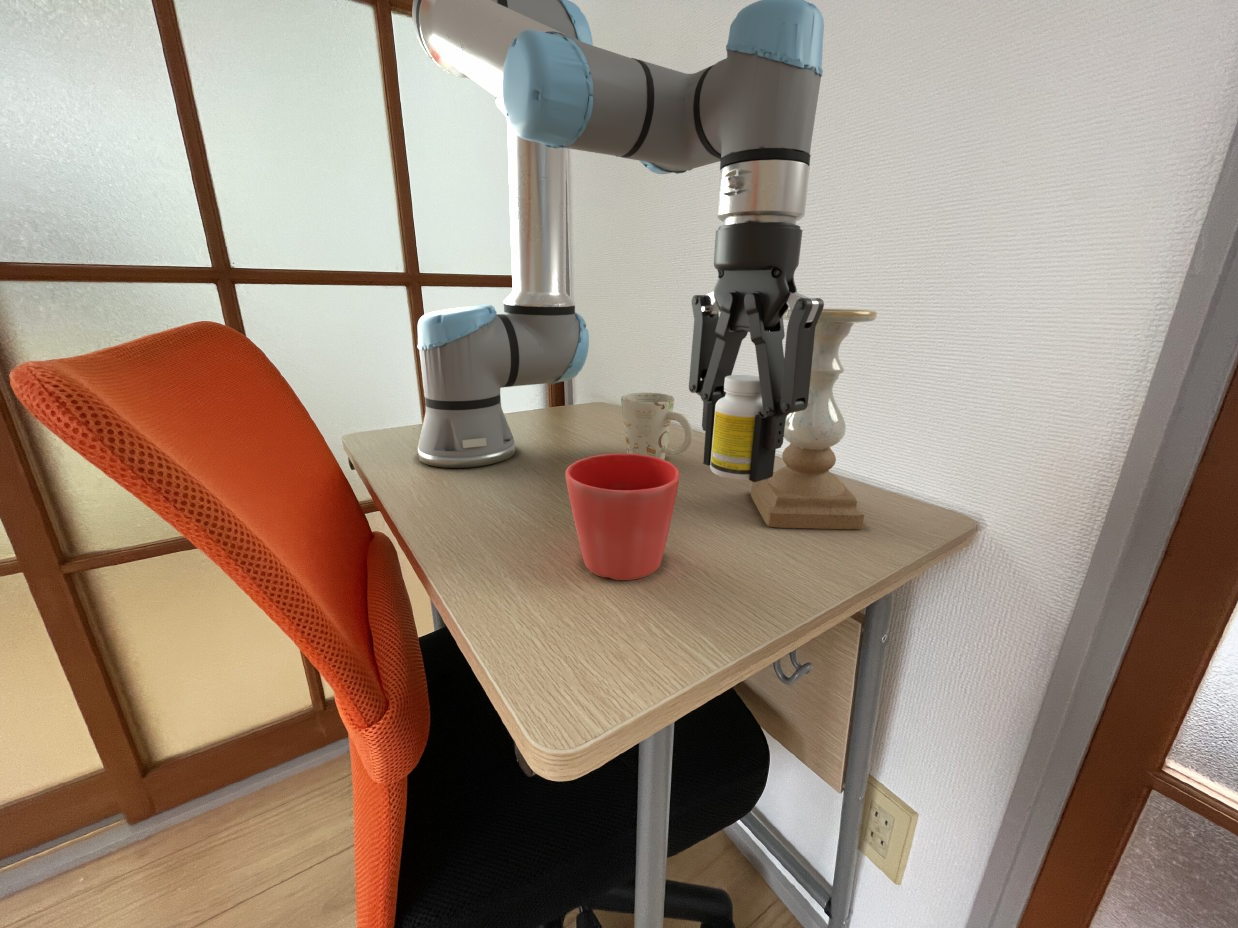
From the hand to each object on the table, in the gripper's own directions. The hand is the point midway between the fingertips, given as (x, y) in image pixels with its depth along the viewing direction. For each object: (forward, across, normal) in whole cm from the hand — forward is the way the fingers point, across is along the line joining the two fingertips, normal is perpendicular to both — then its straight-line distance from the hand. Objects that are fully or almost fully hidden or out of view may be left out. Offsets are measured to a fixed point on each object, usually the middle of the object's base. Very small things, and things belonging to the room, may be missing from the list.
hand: (736, 469), depth 54 cm
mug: (+9, -27, +13) cm, 31 cm away
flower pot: (+9, -4, -12) cm, 15 cm away
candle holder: (+9, -1, +14) cm, 16 cm away
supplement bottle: (+1, 0, 0) cm, 1 cm away
